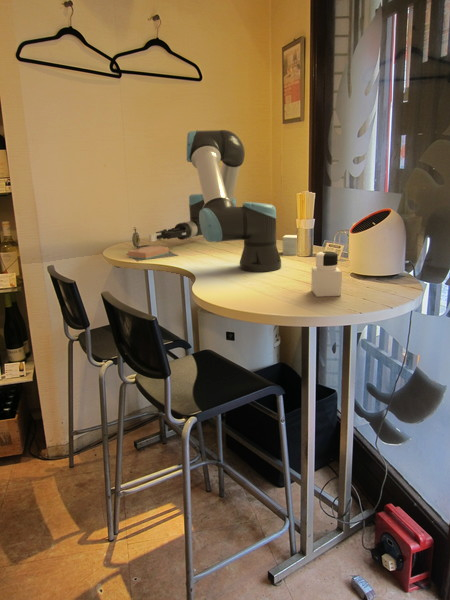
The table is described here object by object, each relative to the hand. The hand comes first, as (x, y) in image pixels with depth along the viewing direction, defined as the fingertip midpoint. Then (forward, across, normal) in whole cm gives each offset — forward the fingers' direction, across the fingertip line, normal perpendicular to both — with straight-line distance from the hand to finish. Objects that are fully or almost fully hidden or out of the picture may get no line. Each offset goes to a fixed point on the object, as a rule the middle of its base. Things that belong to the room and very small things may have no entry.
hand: (150, 238), depth 199 cm
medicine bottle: (+21, -88, -8) cm, 91 cm away
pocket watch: (-11, +16, -8) cm, 21 cm away
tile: (-5, 0, -6) cm, 8 cm away
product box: (-28, -52, -8) cm, 60 cm away
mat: (0, 0, -7) cm, 7 cm away
